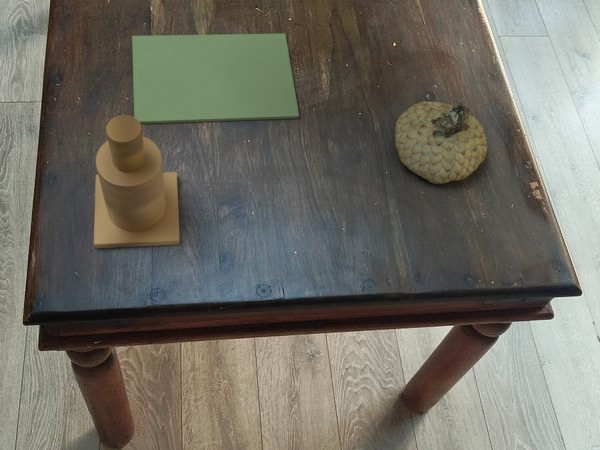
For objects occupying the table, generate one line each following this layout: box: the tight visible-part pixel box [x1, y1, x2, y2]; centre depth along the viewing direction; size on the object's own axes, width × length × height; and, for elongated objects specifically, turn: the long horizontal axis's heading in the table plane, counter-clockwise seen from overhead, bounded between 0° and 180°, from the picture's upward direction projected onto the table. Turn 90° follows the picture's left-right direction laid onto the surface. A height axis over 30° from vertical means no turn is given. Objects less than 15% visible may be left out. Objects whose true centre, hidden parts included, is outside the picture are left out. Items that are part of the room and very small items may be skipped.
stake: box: [93, 114, 181, 249], centre depth 72 cm, size 9×9×15 cm
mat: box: [131, 33, 300, 125], centre depth 89 cm, size 20×14×1 cm
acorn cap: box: [394, 100, 488, 185], centre depth 86 cm, size 10×11×10 cm
